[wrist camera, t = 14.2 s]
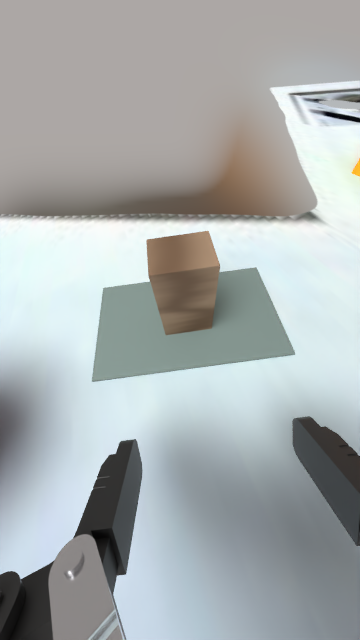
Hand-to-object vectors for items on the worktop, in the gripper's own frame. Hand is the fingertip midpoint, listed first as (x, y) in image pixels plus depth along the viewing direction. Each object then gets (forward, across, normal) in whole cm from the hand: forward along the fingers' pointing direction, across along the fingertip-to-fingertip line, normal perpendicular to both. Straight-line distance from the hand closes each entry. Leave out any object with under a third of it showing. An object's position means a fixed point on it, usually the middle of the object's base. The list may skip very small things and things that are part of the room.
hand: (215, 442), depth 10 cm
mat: (+14, 0, -4) cm, 14 cm away
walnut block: (+14, 0, -4) cm, 14 cm away
